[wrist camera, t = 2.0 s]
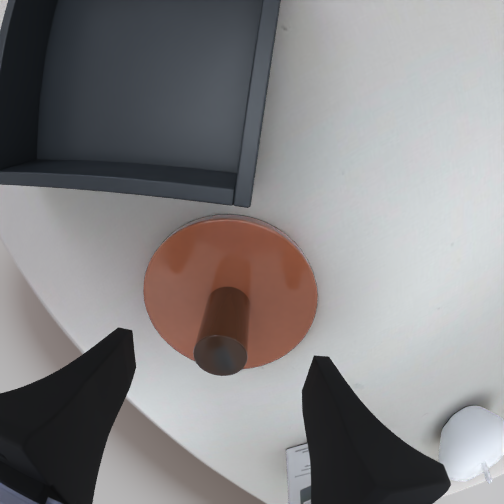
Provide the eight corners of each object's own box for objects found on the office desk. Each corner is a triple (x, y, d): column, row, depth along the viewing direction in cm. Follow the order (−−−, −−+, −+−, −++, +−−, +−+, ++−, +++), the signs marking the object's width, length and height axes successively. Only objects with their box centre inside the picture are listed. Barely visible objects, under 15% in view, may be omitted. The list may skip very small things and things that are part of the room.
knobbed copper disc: (150, 348, 18) (126, 404, 14) (148, 203, 15) (106, 237, 11) (296, 368, 19) (303, 429, 14) (332, 228, 15) (360, 271, 11)
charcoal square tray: (33, 168, 14) (-13, 184, 11) (64, -32, 10) (27, -54, 6) (252, 186, 15) (250, 208, 11) (287, -47, 10) (294, -88, 6)
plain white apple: (489, 380, 20) (530, 445, 12) (490, 415, 22) (520, 471, 15) (421, 422, 21) (450, 496, 14) (432, 450, 24) (455, 511, 16)
